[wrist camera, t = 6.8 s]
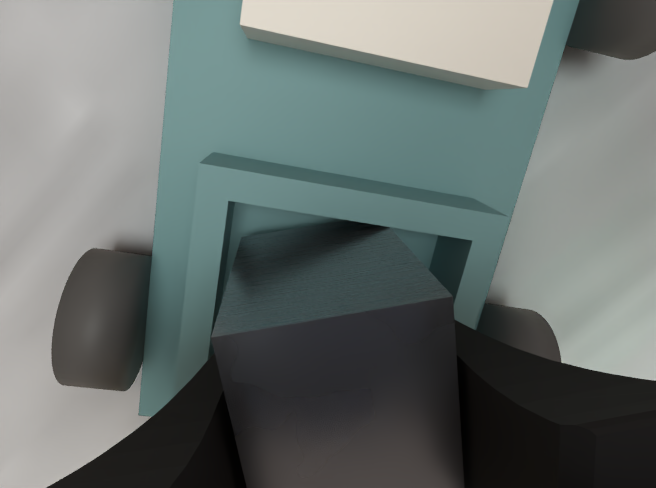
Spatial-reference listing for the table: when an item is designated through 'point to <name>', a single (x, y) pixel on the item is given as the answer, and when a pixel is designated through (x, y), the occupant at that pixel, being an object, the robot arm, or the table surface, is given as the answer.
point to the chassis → (332, 159)
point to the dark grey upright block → (339, 362)
